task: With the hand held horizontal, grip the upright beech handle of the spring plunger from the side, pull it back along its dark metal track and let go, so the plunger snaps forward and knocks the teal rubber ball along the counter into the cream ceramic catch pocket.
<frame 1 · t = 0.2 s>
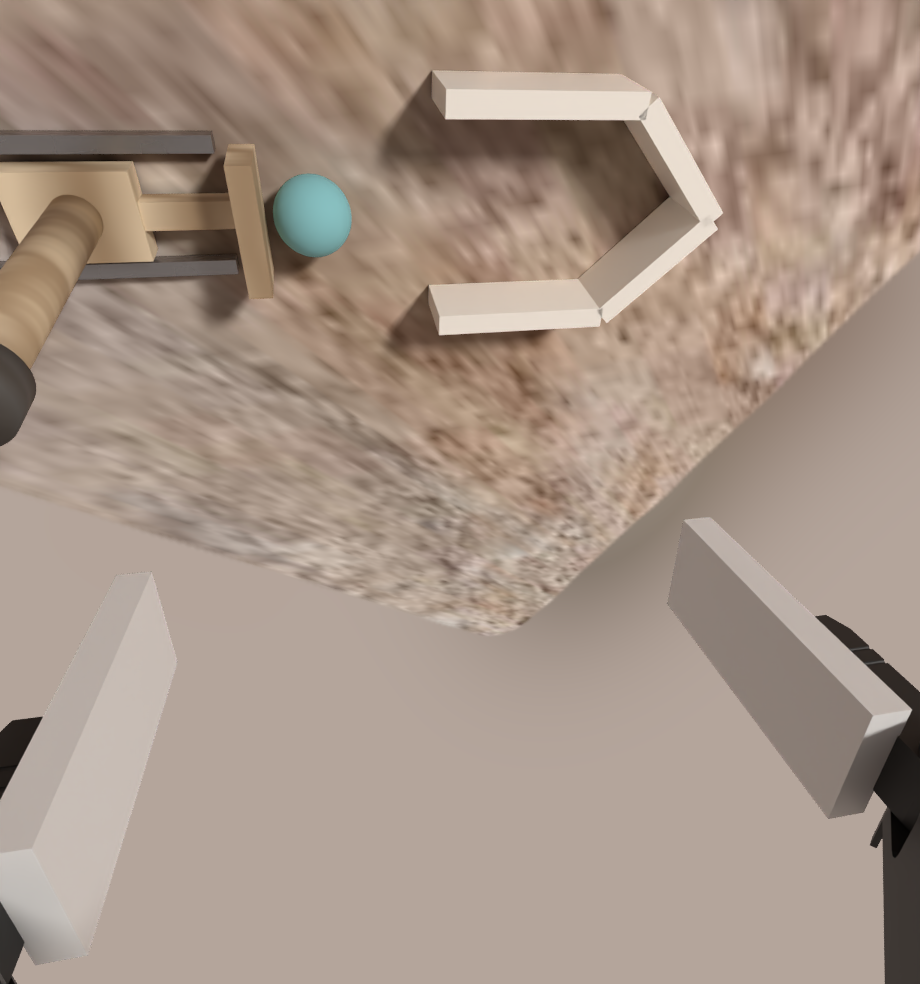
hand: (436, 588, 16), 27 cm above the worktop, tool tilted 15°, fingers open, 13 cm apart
ball: (312, 216, 33), point 2 cm above the worktop
plunger: (113, 282, 27), point 9 cm above the worktop, slide at 0.0 cm
track: (84, 206, 32), on the worktop
pocket: (628, 197, 37), on the worktop
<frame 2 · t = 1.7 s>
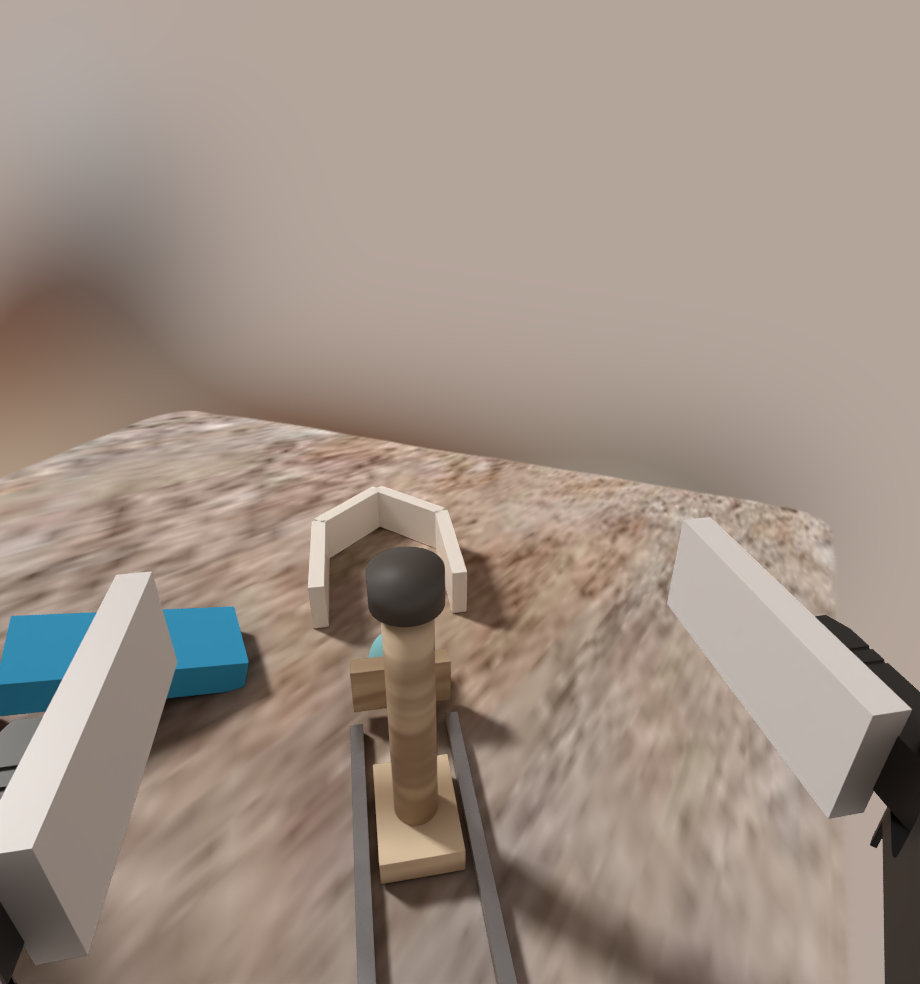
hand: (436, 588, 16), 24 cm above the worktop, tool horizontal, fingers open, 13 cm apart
teal rectangular slab: (108, 699, 44), on the worktop
ball: (397, 657, 44), point 2 cm above the worktop
plunger: (405, 669, 34), point 9 cm above the worktop, slide at 0.0 cm
track: (417, 825, 35), on the worktop
pocket: (381, 540, 61), on the worktop
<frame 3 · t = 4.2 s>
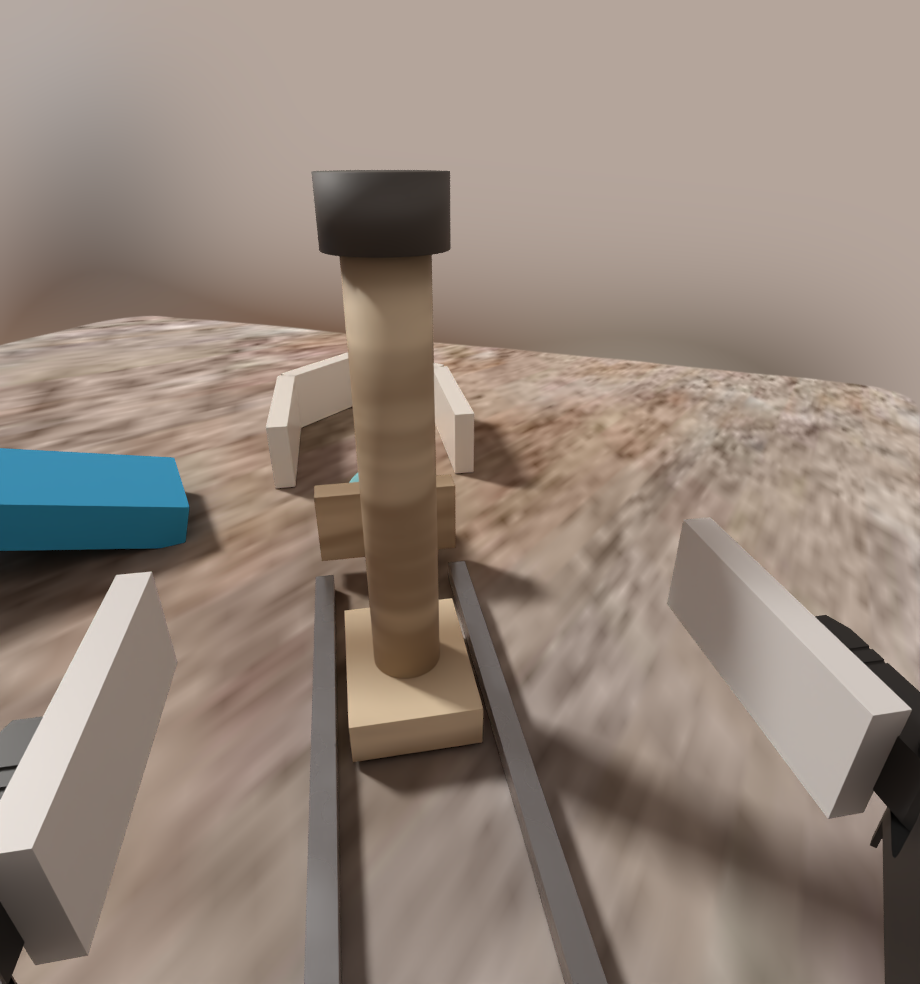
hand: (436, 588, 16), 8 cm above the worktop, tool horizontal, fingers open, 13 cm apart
plunger: (389, 444, 22), point 9 cm above the worktop, slide at 0.0 cm
track: (408, 690, 24), on the worktop
pocket: (366, 412, 50), on the worktop
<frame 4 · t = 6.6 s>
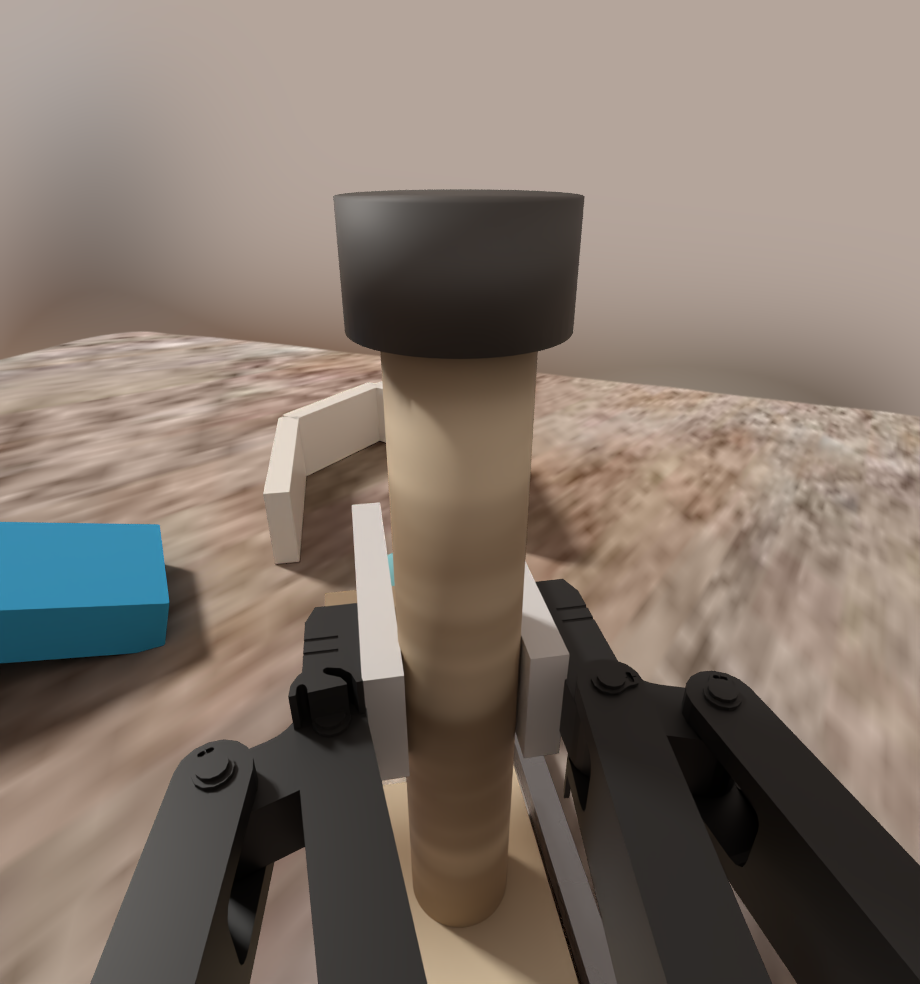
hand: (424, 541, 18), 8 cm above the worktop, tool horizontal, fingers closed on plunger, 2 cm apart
plunger: (437, 582, 15), point 9 cm above the worktop, slide at 0.0 cm, touching gripper
track: (459, 916, 17), on the worktop
pocket: (382, 456, 43), on the worktop
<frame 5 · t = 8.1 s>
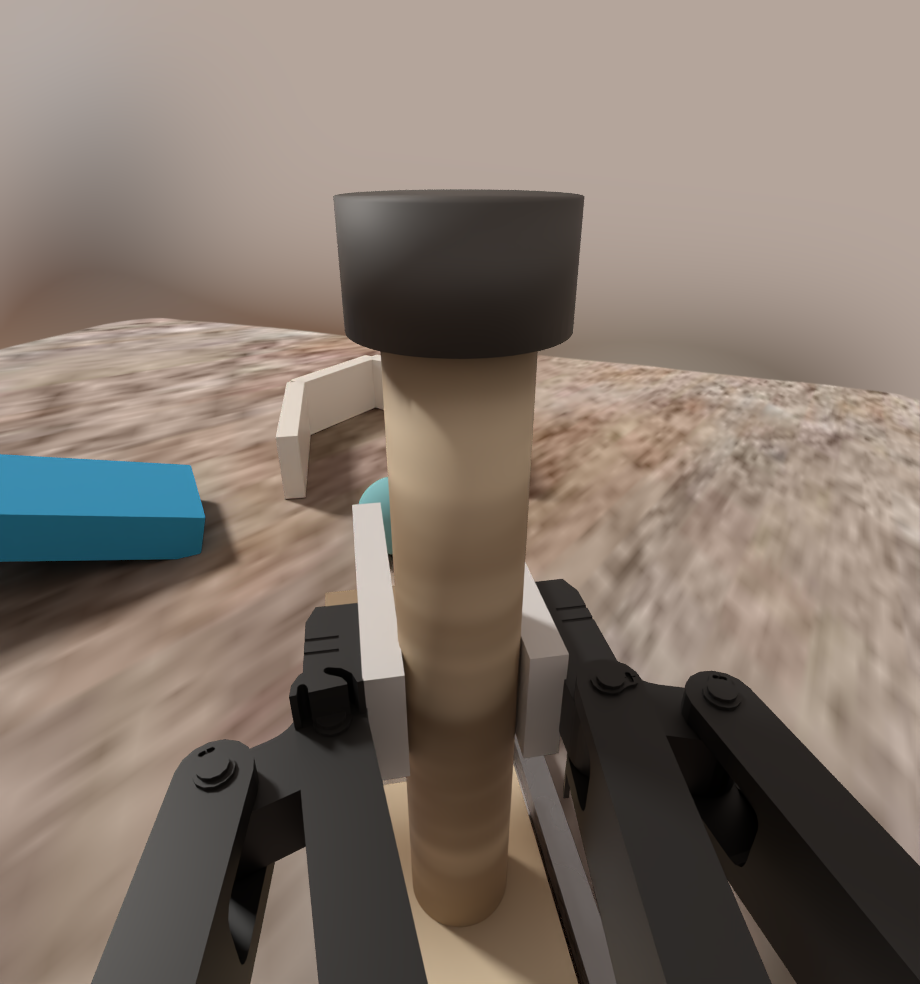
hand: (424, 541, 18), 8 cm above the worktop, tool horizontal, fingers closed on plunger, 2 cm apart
teal rectangular slab: (11, 571, 32), on the worktop
ball: (396, 515, 32), point 2 cm above the worktop
plunger: (437, 582, 15), point 9 cm above the worktop, slide at 6.9 cm, touching gripper
track: (426, 718, 23), on the worktop
pocket: (377, 419, 49), on the worktop
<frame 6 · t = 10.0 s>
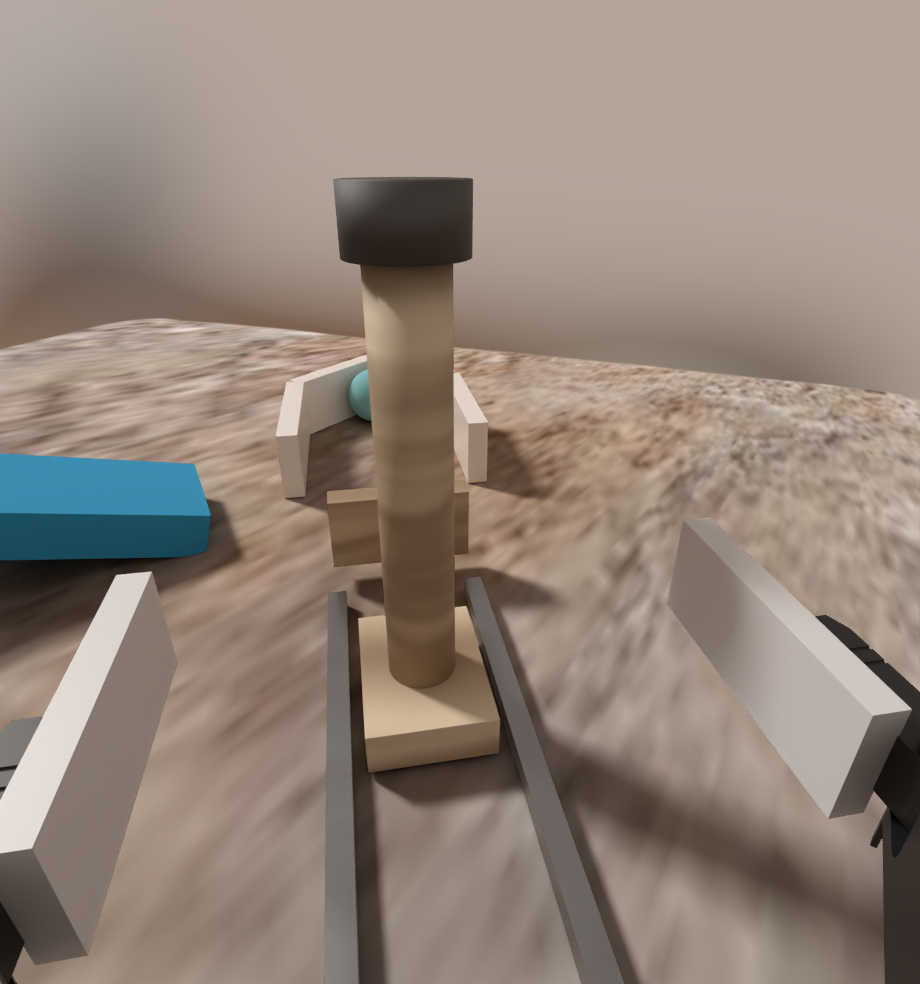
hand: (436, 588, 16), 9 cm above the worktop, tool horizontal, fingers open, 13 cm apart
teal rectangular slab: (17, 570, 32), on the worktop
ball: (374, 395, 48), point 2 cm above the worktop, tilted 150°, touching pocket
plunger: (405, 452, 22), point 9 cm above the worktop, slide at -0.8 cm
track: (426, 715, 23), on the worktop
pocket: (376, 418, 49), on the worktop
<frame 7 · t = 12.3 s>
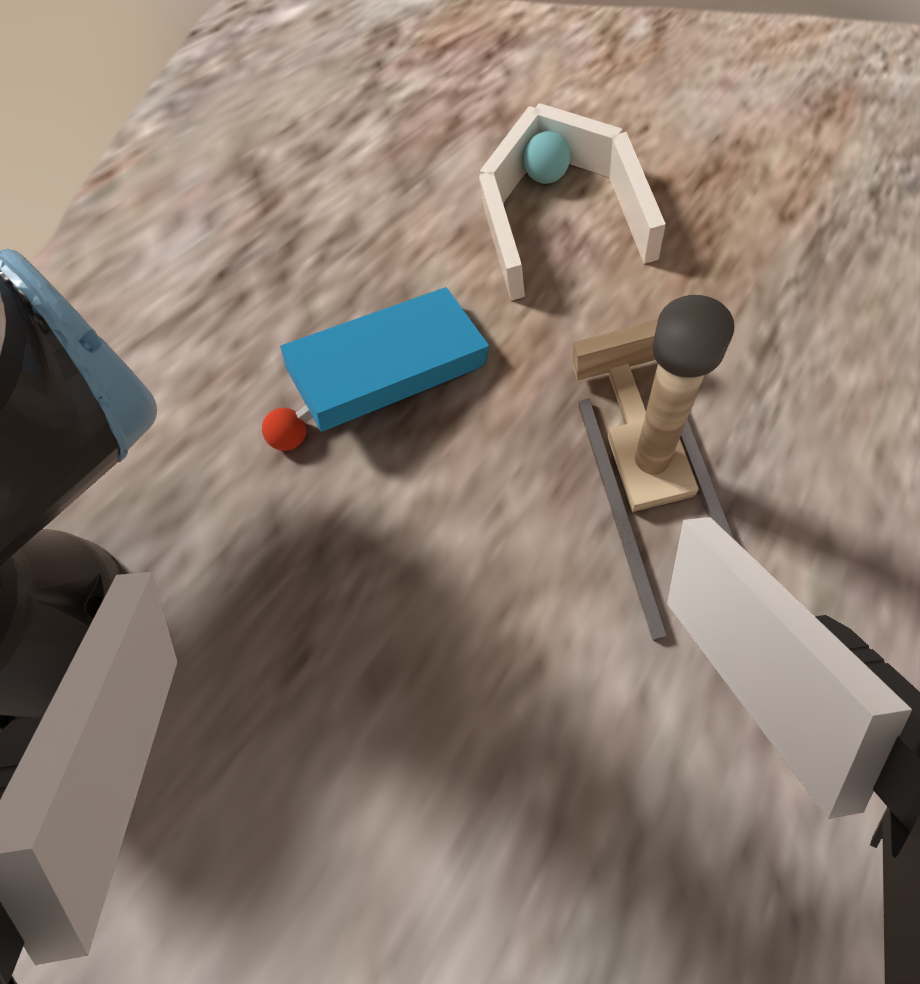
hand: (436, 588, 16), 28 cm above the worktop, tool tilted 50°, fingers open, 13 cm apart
teal rectangular slab: (374, 391, 52), on the worktop
ball: (546, 157, 54), point 2 cm above the worktop, tilted 150°
plunger: (651, 369, 38), point 9 cm above the worktop, slide at -0.8 cm
track: (652, 477, 45), on the worktop
pocket: (547, 175, 56), on the worktop
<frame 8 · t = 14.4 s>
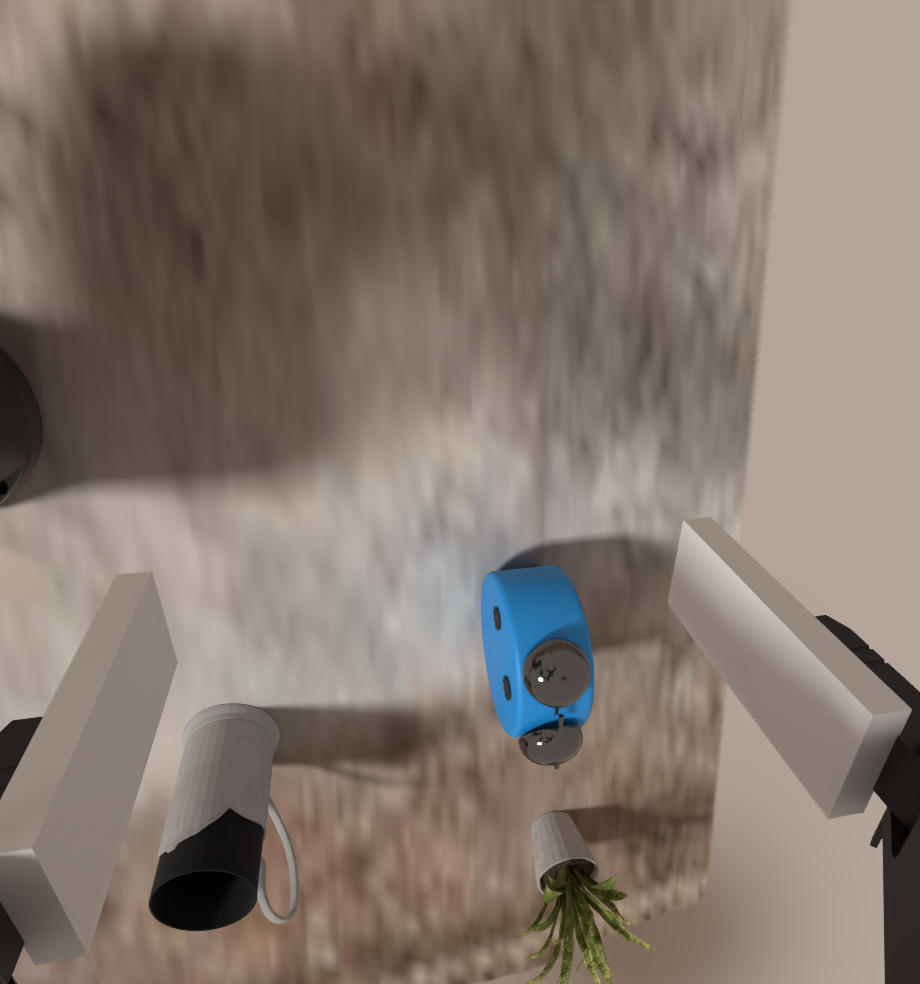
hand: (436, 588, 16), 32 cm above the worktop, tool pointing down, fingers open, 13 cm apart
alarm clock: (509, 597, 57), on the worktop
house plant: (540, 823, 74), on the worktop
glass holder: (252, 750, 61), on the worktop
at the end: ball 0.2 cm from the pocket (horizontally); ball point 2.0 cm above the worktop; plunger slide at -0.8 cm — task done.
